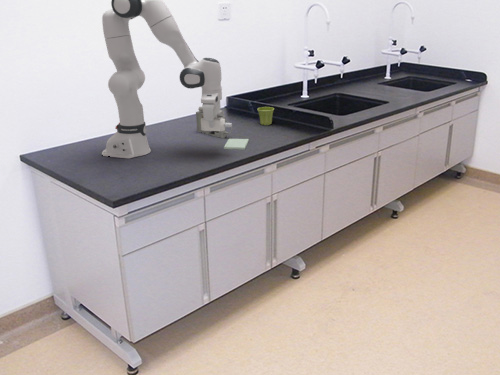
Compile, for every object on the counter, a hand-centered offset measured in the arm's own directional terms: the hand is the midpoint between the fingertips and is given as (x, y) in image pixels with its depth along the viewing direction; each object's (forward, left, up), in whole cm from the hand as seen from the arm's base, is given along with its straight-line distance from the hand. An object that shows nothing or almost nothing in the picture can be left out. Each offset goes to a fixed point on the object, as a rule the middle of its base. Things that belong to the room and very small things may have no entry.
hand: (212, 125), depth 226 cm
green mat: (+8, +13, -13) cm, 20 cm away
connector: (+2, 0, -2) cm, 2 cm away
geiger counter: (-6, +30, -13) cm, 33 cm away
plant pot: (+18, +53, -13) cm, 58 cm away
